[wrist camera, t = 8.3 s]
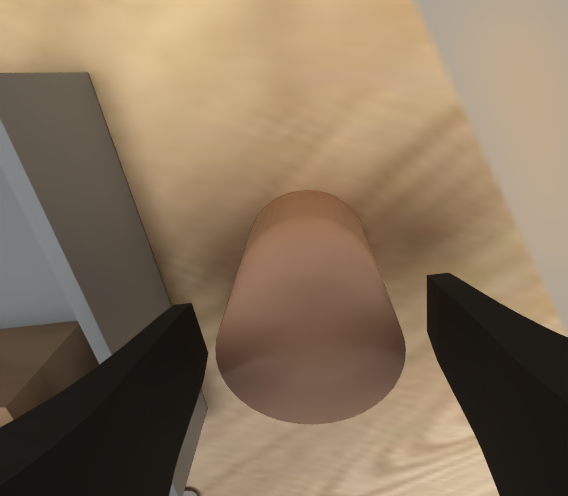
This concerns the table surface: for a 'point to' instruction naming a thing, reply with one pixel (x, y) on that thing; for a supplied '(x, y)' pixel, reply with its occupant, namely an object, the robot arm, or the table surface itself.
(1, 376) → the walnut cube
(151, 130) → the table surface
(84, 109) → the tote
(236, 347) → the terracotta cylinder
